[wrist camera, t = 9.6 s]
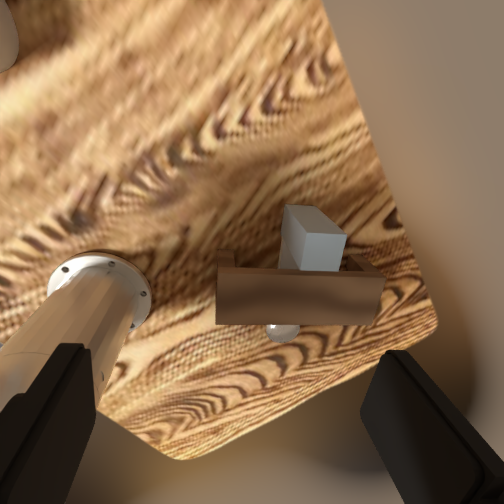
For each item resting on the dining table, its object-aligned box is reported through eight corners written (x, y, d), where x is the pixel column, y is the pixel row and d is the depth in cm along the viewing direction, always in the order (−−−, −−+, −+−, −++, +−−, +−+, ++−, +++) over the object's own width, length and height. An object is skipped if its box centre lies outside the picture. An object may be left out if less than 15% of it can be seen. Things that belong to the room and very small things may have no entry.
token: (299, 331, 46) (302, 337, 44) (268, 339, 46) (270, 346, 44) (294, 305, 44) (296, 311, 42) (261, 314, 44) (263, 321, 42)
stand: (350, 297, 44) (371, 325, 38) (215, 294, 41) (215, 324, 35) (362, 254, 41) (386, 278, 35) (217, 249, 38) (218, 273, 32)
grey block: (284, 204, 37) (307, 232, 28) (315, 206, 37) (347, 234, 28) (269, 310, 43) (283, 361, 34) (295, 310, 44) (316, 361, 35)
